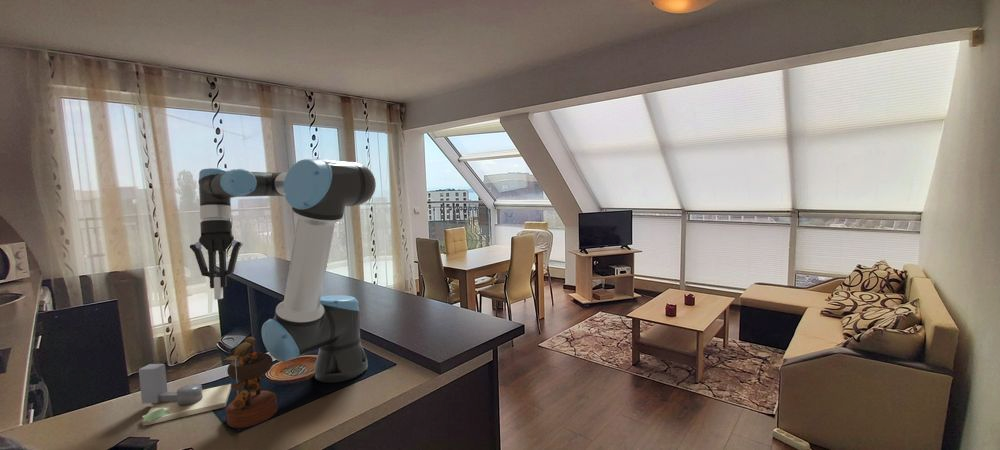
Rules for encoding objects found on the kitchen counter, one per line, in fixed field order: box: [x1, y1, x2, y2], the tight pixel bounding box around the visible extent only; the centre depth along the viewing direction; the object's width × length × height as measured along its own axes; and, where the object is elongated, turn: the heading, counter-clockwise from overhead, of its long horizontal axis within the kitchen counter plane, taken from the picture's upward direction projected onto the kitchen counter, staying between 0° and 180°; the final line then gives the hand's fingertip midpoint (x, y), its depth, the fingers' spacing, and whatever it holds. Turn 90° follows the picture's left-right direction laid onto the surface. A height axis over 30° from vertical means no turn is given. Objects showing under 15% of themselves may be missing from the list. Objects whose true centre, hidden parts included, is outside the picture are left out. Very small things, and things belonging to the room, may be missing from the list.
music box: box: [223, 336, 278, 429], centre depth 94 cm, size 15×11×20 cm
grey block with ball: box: [138, 363, 203, 406], centre depth 98 cm, size 14×5×9 cm, turn 91°
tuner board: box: [141, 383, 232, 427], centre depth 98 cm, size 17×12×1 cm
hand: (218, 298), depth 114 cm, fingers closed
